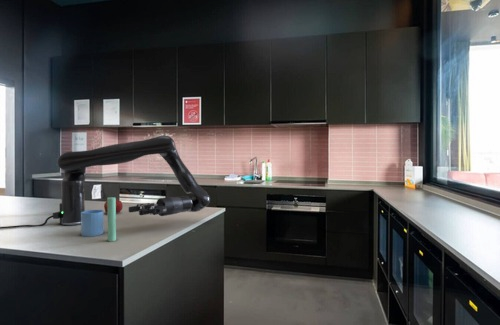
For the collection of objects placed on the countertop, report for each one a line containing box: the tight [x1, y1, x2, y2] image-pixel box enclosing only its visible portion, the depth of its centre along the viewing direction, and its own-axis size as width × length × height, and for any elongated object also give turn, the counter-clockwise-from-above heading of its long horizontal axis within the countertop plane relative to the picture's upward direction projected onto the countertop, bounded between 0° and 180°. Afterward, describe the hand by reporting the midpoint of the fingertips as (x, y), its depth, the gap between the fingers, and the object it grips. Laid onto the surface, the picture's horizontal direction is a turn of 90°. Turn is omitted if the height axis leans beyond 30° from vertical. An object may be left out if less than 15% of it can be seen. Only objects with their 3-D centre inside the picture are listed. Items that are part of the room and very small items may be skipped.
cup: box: [80, 209, 105, 237], centre depth 125 cm, size 8×8×9 cm
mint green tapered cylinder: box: [106, 196, 117, 242], centre depth 115 cm, size 3×3×16 cm
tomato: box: [103, 198, 124, 214], centre depth 167 cm, size 9×9×8 cm
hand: (134, 211), depth 122 cm, fingers open, 8 cm apart
